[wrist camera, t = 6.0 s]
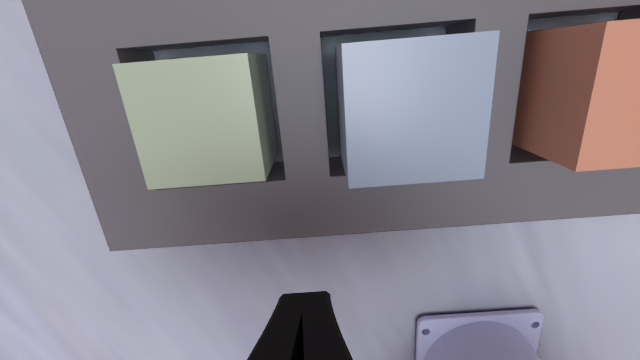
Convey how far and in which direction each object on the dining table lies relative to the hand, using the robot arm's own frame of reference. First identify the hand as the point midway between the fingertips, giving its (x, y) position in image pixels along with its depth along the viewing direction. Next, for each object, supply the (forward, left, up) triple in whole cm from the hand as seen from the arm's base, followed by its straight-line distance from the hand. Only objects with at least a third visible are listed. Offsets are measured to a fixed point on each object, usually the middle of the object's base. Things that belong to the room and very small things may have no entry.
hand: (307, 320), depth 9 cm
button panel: (+5, -4, -9) cm, 11 cm away
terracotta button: (+5, -12, -8) cm, 15 cm away
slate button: (+5, -4, -8) cm, 10 cm away
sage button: (+5, +4, -9) cm, 11 cm away
